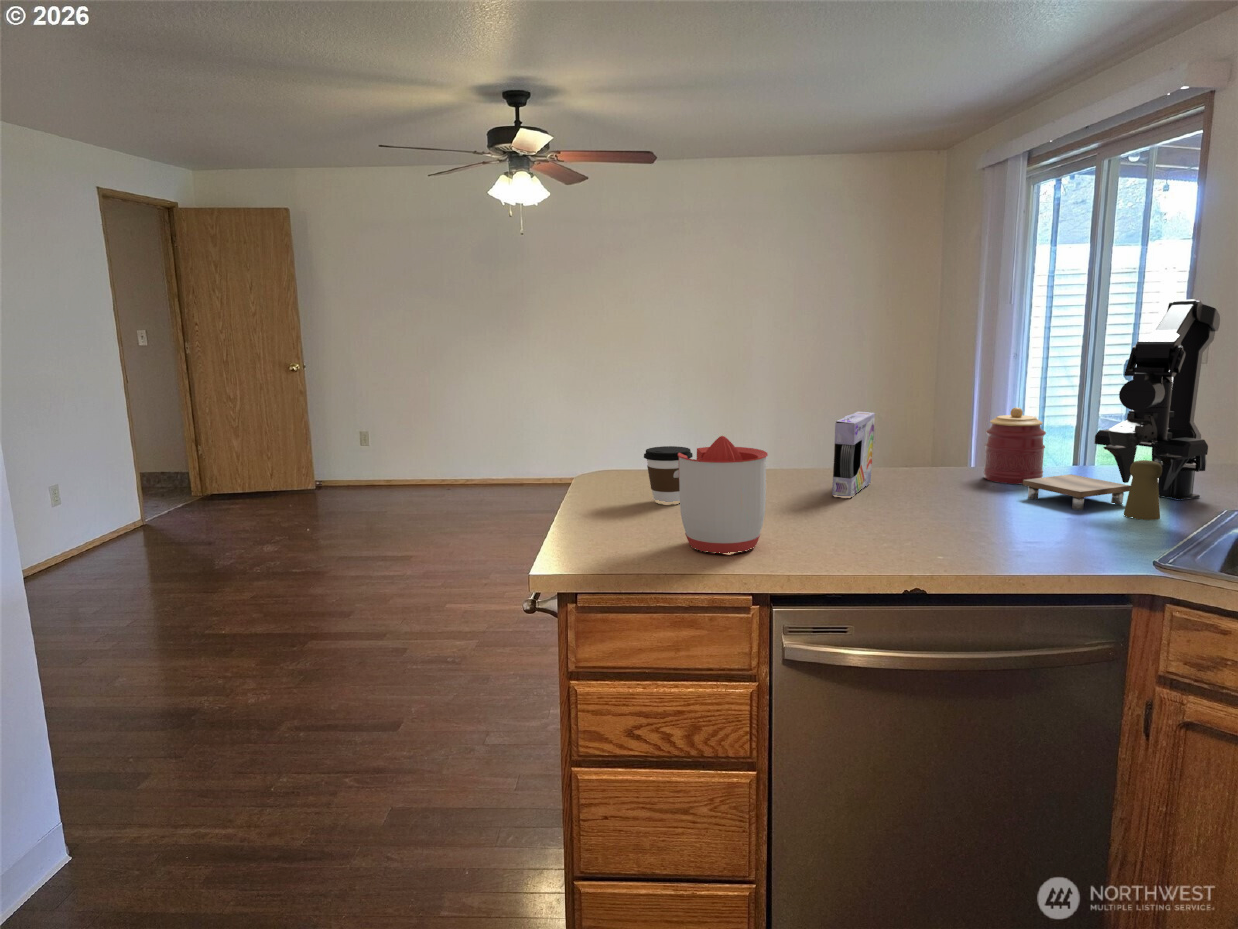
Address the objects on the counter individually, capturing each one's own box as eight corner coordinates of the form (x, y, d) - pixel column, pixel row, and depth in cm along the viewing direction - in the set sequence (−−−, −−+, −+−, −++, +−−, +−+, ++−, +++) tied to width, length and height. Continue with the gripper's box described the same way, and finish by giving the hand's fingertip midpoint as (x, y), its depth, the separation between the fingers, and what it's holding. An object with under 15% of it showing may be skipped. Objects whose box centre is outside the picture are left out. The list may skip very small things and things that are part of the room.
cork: (1166, 520, 149) (1171, 463, 147) (1131, 519, 150) (1136, 463, 149) (1151, 513, 155) (1157, 458, 153) (1118, 512, 156) (1122, 458, 154)
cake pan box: (851, 500, 173) (853, 421, 170) (829, 498, 175) (830, 420, 172) (873, 484, 189) (875, 411, 186) (852, 483, 191) (854, 411, 188)
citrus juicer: (701, 529, 151) (701, 427, 148) (783, 543, 140) (784, 433, 137) (653, 548, 139) (651, 437, 136) (737, 565, 128) (738, 444, 125)
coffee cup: (675, 510, 168) (675, 455, 166) (634, 504, 174) (633, 451, 172) (702, 500, 176) (702, 448, 174) (662, 495, 183) (661, 444, 181)
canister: (1044, 477, 192) (1049, 405, 189) (1040, 486, 182) (1045, 411, 178) (986, 473, 199) (990, 403, 196) (979, 482, 188) (983, 409, 185)
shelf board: (1070, 479, 175) (1071, 474, 175) (1130, 491, 162) (1130, 485, 162) (1022, 485, 170) (1023, 479, 170) (1079, 497, 157) (1080, 491, 157)
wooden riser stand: (1070, 492, 175) (1071, 480, 174) (1124, 504, 163) (1126, 491, 162) (1025, 498, 171) (1026, 485, 170) (1078, 510, 159) (1079, 497, 158)
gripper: (1077, 404, 155) (1071, 481, 158) (1170, 413, 138) (1162, 499, 140) (1118, 401, 159) (1111, 476, 161) (1214, 409, 141) (1205, 493, 144)
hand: (1144, 486), depth 152 cm, fingers open, 7 cm apart
